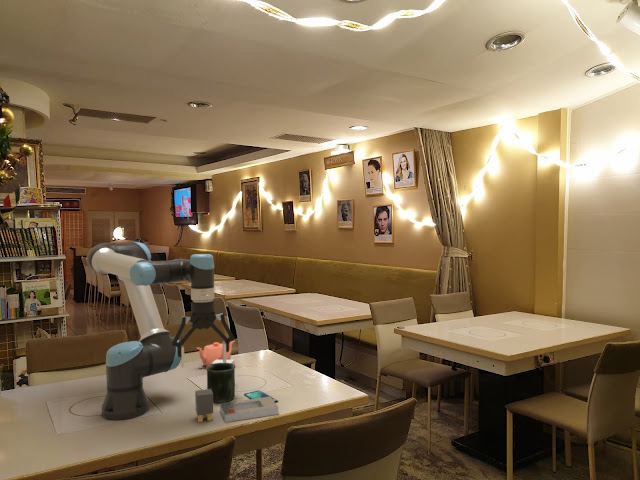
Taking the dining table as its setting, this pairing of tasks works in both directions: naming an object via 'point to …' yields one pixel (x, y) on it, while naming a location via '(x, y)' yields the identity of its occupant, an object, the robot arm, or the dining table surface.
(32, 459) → the dining table surface
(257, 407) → the socket
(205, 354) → the teapot
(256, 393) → the smartphone
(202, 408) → the plug
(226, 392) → the mug
